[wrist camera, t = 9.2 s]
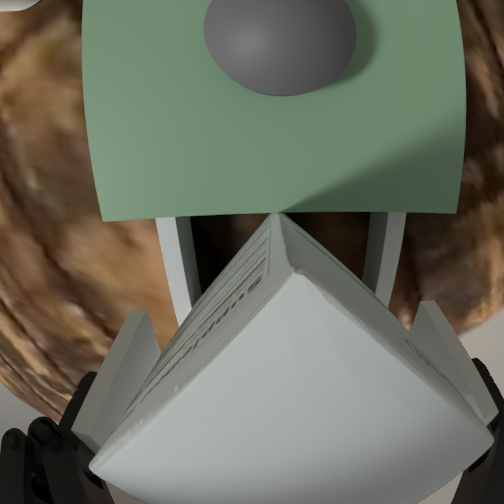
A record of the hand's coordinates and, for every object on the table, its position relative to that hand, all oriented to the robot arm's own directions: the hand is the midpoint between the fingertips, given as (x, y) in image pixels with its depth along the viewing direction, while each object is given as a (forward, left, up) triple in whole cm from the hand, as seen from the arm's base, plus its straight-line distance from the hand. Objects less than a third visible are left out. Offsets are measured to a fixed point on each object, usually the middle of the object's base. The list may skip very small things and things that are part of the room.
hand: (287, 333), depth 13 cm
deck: (-6, 0, -5) cm, 8 cm away
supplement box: (+1, 0, -4) cm, 4 cm away
